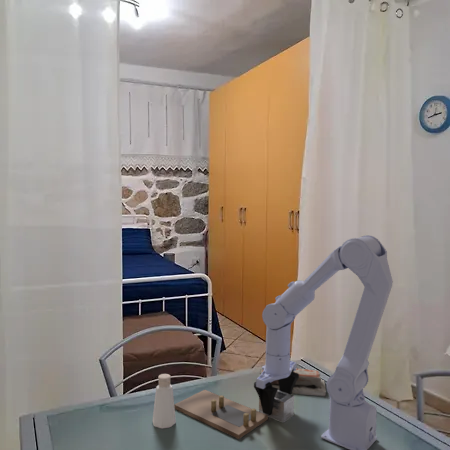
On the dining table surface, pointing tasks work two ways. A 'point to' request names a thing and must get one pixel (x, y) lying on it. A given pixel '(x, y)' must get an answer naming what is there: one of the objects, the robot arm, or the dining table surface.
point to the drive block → (281, 406)
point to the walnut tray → (221, 413)
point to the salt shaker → (164, 403)
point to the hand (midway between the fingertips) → (276, 407)
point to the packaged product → (306, 383)
